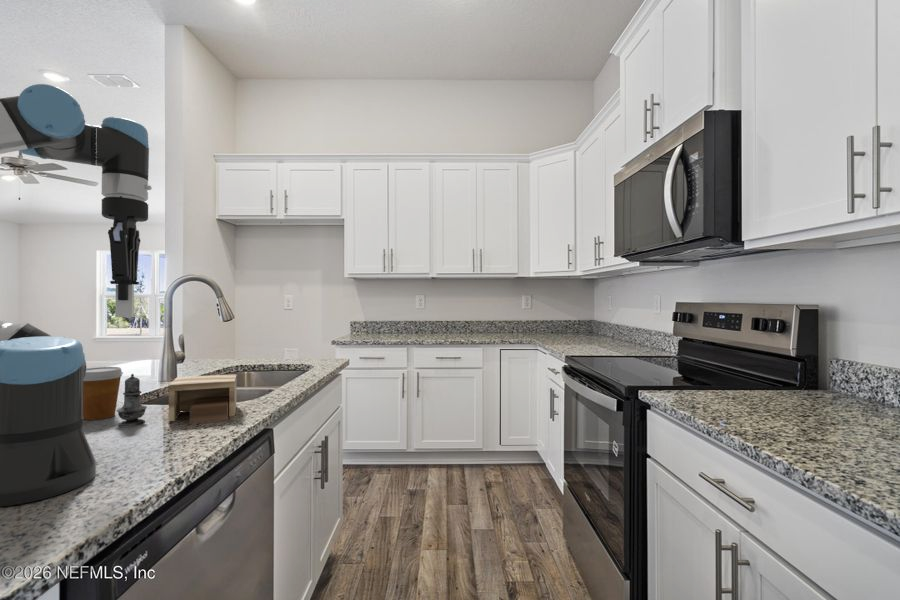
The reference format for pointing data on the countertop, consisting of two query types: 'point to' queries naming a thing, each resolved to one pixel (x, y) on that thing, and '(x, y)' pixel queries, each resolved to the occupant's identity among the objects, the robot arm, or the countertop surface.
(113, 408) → the disposable coffee cup
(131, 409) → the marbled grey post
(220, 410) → the dark brown block
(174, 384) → the oak bridge
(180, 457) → the countertop surface
